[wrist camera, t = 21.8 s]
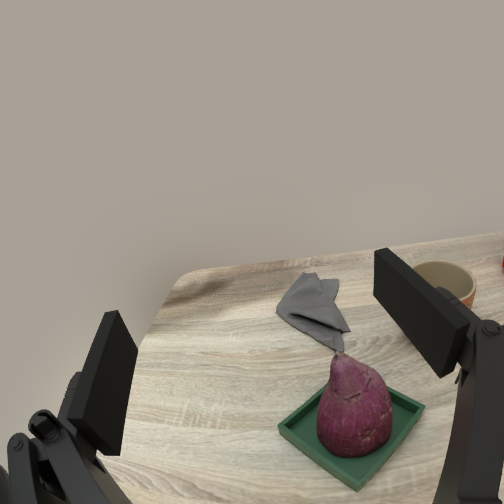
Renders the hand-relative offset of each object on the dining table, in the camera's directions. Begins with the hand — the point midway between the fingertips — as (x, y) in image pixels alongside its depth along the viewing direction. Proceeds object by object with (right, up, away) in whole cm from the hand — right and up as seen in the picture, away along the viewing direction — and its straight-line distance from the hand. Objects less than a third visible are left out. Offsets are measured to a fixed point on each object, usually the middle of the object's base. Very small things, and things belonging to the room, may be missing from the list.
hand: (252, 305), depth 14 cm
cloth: (+12, -9, +44) cm, 46 cm away
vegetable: (+13, -20, +18) cm, 30 cm away
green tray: (+13, -20, +18) cm, 30 cm away
